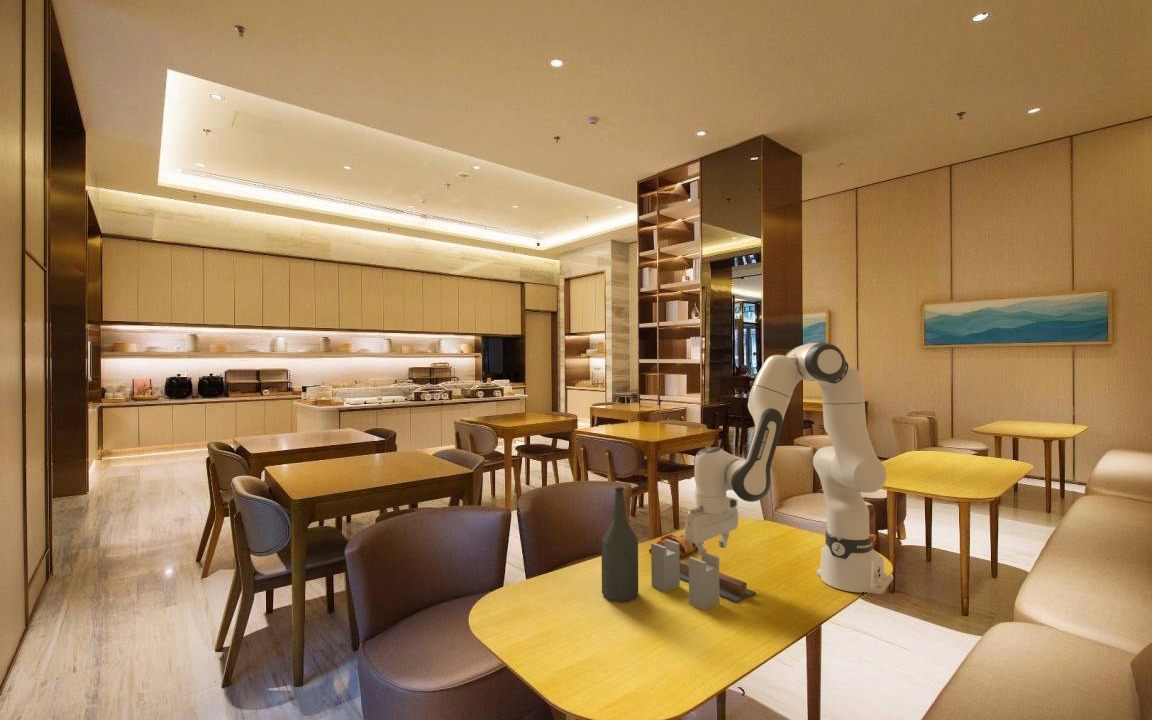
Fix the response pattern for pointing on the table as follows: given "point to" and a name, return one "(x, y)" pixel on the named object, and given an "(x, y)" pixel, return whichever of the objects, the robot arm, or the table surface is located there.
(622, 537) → the bottle
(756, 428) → the robot arm
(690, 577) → the post
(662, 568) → the post
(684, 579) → the mat
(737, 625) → the table surface
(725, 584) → the rail
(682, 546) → the croissant
